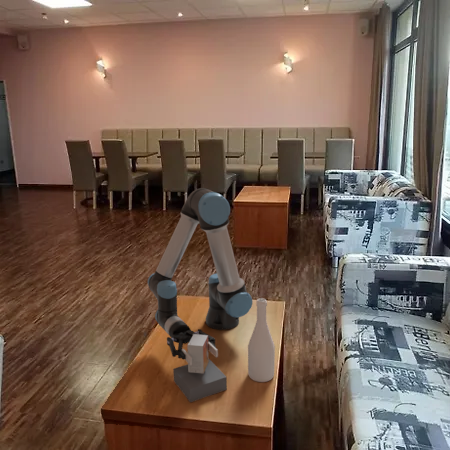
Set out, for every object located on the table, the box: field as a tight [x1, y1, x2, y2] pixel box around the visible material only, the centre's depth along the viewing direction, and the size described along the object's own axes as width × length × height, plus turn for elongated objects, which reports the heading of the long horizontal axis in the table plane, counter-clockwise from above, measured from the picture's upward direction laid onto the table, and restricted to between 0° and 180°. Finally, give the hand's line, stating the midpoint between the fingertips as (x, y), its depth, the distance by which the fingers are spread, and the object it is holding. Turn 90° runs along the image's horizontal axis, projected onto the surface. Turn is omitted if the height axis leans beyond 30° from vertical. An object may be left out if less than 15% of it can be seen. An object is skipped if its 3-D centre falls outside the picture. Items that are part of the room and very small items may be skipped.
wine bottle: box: [247, 297, 276, 383], centre depth 161 cm, size 10×10×30 cm
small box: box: [186, 334, 210, 373], centre depth 156 cm, size 8×6×10 cm
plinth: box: [172, 358, 228, 403], centre depth 159 cm, size 14×14×5 cm
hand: (204, 357), depth 152 cm, fingers closed on small box, 9 cm apart
